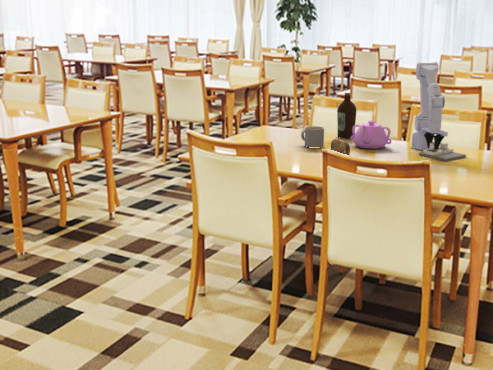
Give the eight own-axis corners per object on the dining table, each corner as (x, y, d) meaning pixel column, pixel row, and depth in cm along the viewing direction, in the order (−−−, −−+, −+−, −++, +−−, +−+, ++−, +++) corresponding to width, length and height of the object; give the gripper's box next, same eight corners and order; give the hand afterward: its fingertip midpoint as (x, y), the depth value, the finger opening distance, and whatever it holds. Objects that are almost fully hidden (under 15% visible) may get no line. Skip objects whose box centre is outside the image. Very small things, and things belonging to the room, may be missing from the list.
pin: (427, 151, 298) (428, 142, 297) (432, 150, 300) (433, 141, 299) (433, 152, 296) (433, 143, 294) (438, 151, 297) (438, 142, 296)
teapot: (342, 149, 314) (342, 123, 310) (355, 142, 333) (356, 116, 329) (384, 153, 304) (385, 126, 300) (395, 145, 323) (396, 119, 319)
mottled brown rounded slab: (330, 154, 304) (330, 137, 302) (335, 153, 305) (336, 137, 303) (345, 160, 290) (345, 143, 288) (350, 160, 292) (351, 143, 289)
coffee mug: (327, 147, 320) (328, 128, 318) (313, 149, 315) (313, 130, 312) (310, 143, 331) (311, 124, 328) (296, 145, 326) (296, 126, 323)
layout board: (418, 155, 300) (419, 144, 299) (439, 151, 308) (440, 141, 307) (445, 161, 288) (446, 150, 286) (466, 157, 296) (467, 146, 294)
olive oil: (347, 134, 353) (349, 91, 346) (359, 137, 344) (361, 93, 337) (332, 136, 348) (334, 92, 341) (344, 139, 339) (345, 94, 332)
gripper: (417, 119, 298) (415, 147, 301) (441, 124, 286) (439, 152, 290) (427, 118, 301) (425, 145, 305) (451, 122, 290) (449, 150, 293)
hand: (433, 148), depth 298 cm, fingers closed on pin, 4 cm apart
